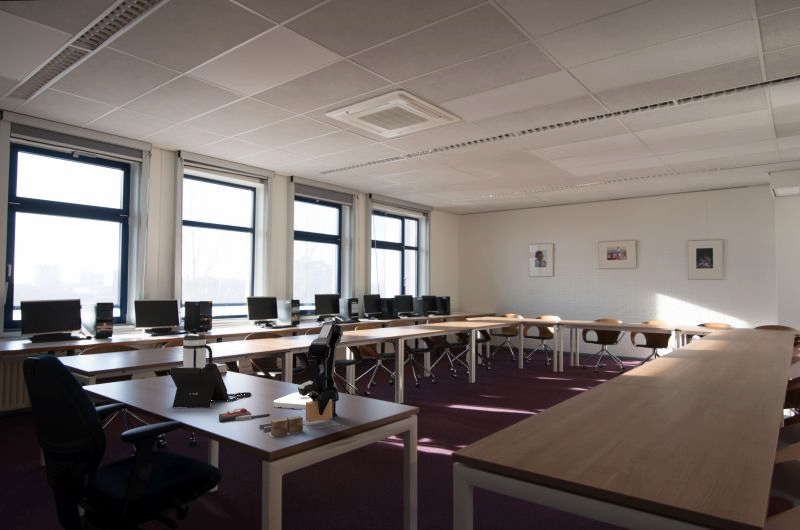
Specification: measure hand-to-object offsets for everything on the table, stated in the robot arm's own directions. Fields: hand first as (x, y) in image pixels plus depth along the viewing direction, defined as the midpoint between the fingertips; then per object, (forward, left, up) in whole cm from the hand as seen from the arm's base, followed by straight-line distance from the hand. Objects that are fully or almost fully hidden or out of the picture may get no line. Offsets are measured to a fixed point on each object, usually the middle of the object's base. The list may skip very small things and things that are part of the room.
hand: (319, 414), depth 193 cm
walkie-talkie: (+22, -26, -5) cm, 34 cm away
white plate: (-10, -37, -5) cm, 39 cm away
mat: (0, 0, -4) cm, 4 cm away
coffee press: (+19, -124, -4) cm, 126 cm away
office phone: (+24, -67, -5) cm, 71 cm away
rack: (+15, -1, -4) cm, 16 cm away
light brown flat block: (0, 0, -2) cm, 2 cm away
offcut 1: (+18, +5, -4) cm, 19 cm away
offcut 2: (+12, +5, -4) cm, 13 cm away
